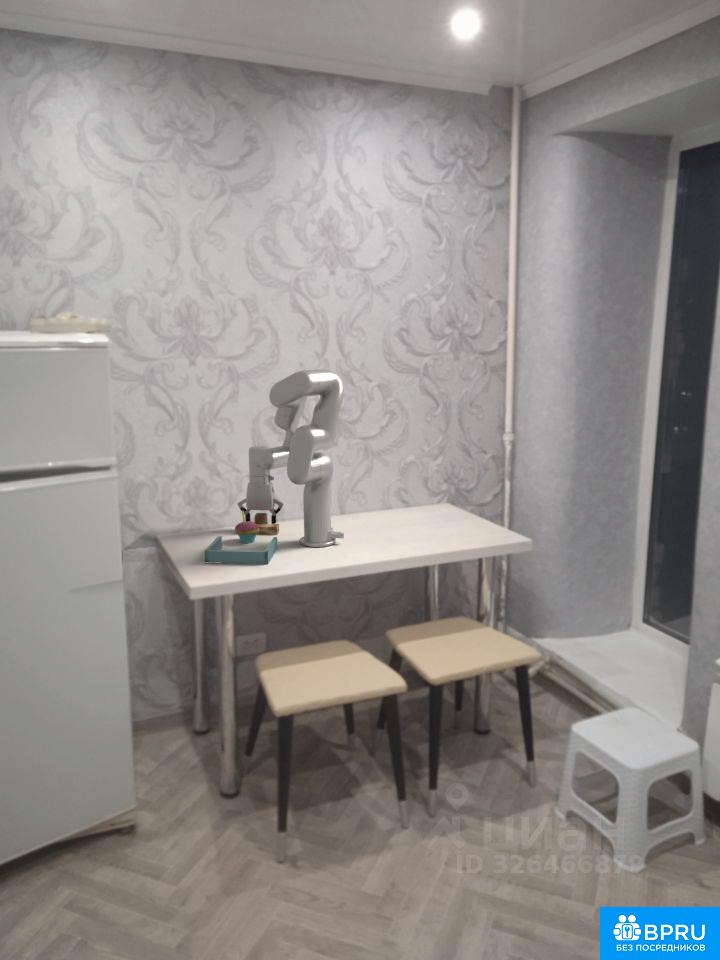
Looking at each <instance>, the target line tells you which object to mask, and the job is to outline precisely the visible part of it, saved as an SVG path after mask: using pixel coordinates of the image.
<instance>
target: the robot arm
mask: <svg viewBox="0 0 720 960" xmlns="http://www.w3.org/2000/svg"><path fill="white" fill-rule="evenodd" d="M343 385H344V384H343V382H342V379H341V378H340V377H339V375H338V374H337V373H335V371H333V370H329V369H325V368H324V369H323V368H319V369H308V370H298V371H296V372H294V373H292V374H290V375H288V376H287V377H285V378H283V379H280V380H279V381H277V382H276V383H274V384H273V386H272V387H271V389H270V390H269V395H268V396H269V402H270V404H271V405H272V406H273V407H275V408H277V410H276V413H275V415H274V419H273V420H274V424H275V425H276V427H278V428H279V429H281V430H283V431H284V432H285V437H284V440H283V443H282V445H280V446H274V447H270V448H269V446H266V445H253V446H250V447H249V449H248V471H249V474H248V475H249V476H248V477H249V482H247V485H246V486H247V487H246V497H245V498H244V499H242V500H240V501H238V502H237V503H236V504H237V506H238V508H239V509H240V512H242V510H243V511H244V516H245V522H246V521H251V513H250V512H251V511H269V512H270V513H271V516H270V517H271V521H270V522H271V523H270V524H277V514H279V512H281V510H282V508H283V506H284V503H283V502H282V501H280V500H278V499H277V498H275V490H274V484H273V481H274V480H275V476H273V475H271V470H276V469H279V468H284V467H286V474H287V478H288V479H289V481H290V482H291V483H293V484H294V485H298V486H301V485H304V486H303V487H304V488H303V494H302V495H303V536H302V537H300V539H299V543H300V544H301V545H302V546H306V547H311V548H323V547H324V548H325V547H330V546H332V545H334V544H335V543H336V542H337V541H336V539H344V538H345V534H344V533H345V532H342V531H334V527H332V481H333V475H334V462H333V460H332V458H331V457H330V455H328V454H327V453H324V452H325V451H328V450H329V449H331V448H332V447H333V446H334V443H335V437H336V431H337V427H338V421H339V415H340V410H341V406H342V403H343V399H344V386H343ZM314 396H320V398H319V399H318V401H316V404H315V406H314V408H313V413H312V419H311V422H310V424H306V425H301V426H299V424H300V420H301V417H302V413H303V411H304V408H305V405H306V402H307V400H308V397H314ZM243 504H245V505H246V507H245V506H244V505H243ZM276 505H277V506H278V507H277V509H276V508H275V506H276ZM251 522H252V521H251Z"/></svg>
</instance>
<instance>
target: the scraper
mask: <svg viewBox="0 0 720 960" xmlns="http://www.w3.org/2000/svg"><path fill="white" fill-rule="evenodd" d="M268 522H269V521H268V512H256V513H255V515H254V523H256V524H257V525H258V526H259V532H258V533H257V534H256V536H257V535H259V536H260V535H264V536H265V535H266V536H268V535H269V536H276V535H277V536H278V534H279V533H280V524H279V523H275V524H271V523H268Z"/></svg>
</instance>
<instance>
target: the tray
mask: <svg viewBox="0 0 720 960" xmlns="http://www.w3.org/2000/svg"><path fill="white" fill-rule="evenodd" d="M222 548H223V536H221V535H218V536H216V538H214V540H213V541H212V542H211V543H210V545H208V546H207V548H206V549H205V550H204V555H203V556H204V563H205V562H221V563H220V564H229V563H243V564H242V565H244V563H245V565H247V564H248V565H269V563H270V561H271V560H272V559H273V557H274V555H275V553H276V552H277V550H278V549H279V548H278V537H277V536H273V537H272V539H271V540H270V542H269V544H268V545H267V547H266V548H265V550H234V549H233V550H232V549H230V550H228V549H227V550H225V549H224V550H223V549H222Z"/></svg>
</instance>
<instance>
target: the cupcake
mask: <svg viewBox="0 0 720 960" xmlns="http://www.w3.org/2000/svg"><path fill="white" fill-rule="evenodd" d="M241 515H242V521H241V522H239V523H237V524H236V525H235V527H234V532H235V534H237V536H238V538H239V540H240V543H242V544H252V543H254V542H255V540H256V537H257V535H256V534H257V533H258V532H259V526H258V525H257V524H256V523H255V521H245V515H244V511H243V510H242V511H241Z"/></svg>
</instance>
